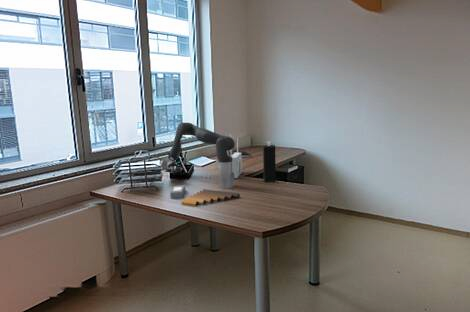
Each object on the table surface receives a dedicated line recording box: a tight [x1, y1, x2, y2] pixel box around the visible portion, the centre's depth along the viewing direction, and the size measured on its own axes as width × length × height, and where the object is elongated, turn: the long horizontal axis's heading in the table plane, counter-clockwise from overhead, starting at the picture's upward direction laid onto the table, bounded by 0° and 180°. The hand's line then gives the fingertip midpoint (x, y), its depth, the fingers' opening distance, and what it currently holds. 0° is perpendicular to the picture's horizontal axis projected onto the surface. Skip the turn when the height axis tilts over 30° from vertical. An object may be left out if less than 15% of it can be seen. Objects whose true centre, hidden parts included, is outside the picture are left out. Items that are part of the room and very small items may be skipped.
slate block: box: [170, 184, 186, 199], centre depth 226 cm, size 4×7×16 cm
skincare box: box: [230, 153, 243, 179], centre depth 269 cm, size 21×5×16 cm, turn 168°
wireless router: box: [227, 133, 251, 159], centre depth 345 cm, size 34×23×20 cm
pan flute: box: [180, 188, 241, 207], centre depth 210 cm, size 25×3×25 cm
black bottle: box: [262, 140, 277, 183], centre depth 248 cm, size 8×8×28 cm
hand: (174, 171), depth 244 cm, fingers closed
